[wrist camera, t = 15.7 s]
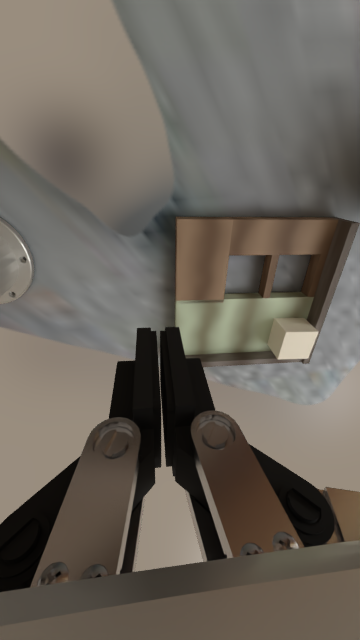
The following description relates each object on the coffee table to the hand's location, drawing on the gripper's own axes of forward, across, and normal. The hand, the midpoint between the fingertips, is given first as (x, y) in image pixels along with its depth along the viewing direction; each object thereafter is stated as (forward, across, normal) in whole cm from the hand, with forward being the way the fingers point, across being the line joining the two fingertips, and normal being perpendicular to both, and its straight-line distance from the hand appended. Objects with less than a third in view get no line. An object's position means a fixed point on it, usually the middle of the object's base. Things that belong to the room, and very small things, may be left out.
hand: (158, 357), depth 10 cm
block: (+24, -22, +15) cm, 35 cm away
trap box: (+26, -14, +9) cm, 31 cm away
